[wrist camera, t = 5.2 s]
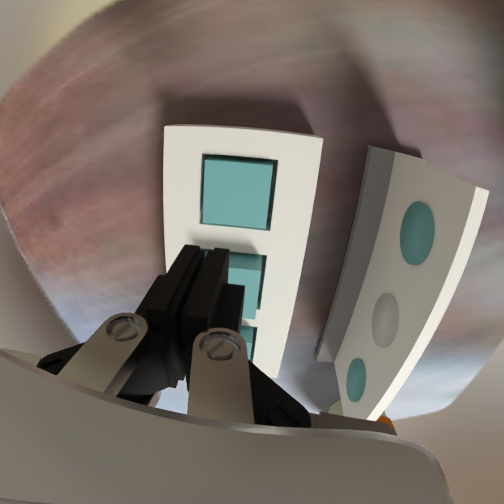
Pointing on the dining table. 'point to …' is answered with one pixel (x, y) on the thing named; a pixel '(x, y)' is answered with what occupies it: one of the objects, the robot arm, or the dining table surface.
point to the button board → (239, 237)
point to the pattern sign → (397, 275)
